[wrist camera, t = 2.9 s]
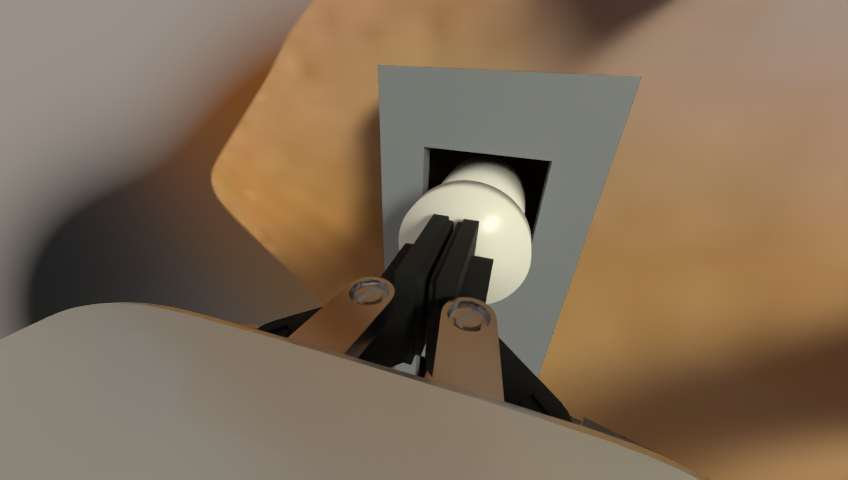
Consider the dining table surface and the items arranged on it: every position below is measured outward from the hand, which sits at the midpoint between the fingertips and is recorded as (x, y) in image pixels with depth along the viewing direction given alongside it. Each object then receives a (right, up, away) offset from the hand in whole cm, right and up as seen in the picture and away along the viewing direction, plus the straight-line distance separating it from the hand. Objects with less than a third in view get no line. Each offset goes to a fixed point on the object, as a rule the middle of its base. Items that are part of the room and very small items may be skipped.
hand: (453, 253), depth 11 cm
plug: (+2, +3, +5) cm, 6 cm away
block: (+3, -1, +12) cm, 12 cm away
